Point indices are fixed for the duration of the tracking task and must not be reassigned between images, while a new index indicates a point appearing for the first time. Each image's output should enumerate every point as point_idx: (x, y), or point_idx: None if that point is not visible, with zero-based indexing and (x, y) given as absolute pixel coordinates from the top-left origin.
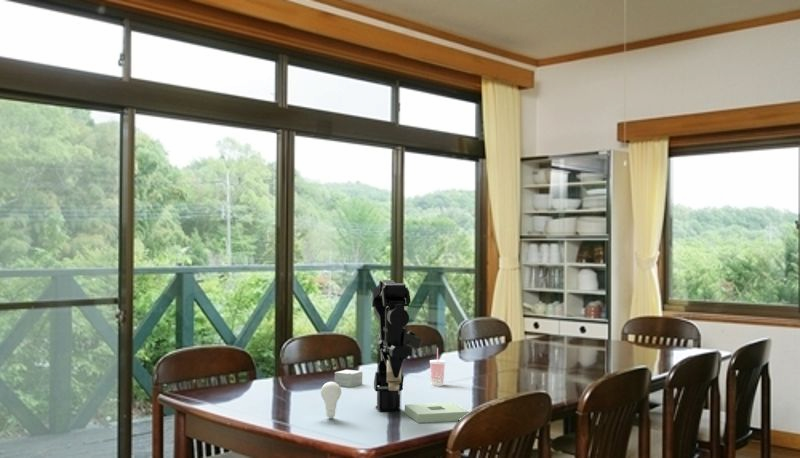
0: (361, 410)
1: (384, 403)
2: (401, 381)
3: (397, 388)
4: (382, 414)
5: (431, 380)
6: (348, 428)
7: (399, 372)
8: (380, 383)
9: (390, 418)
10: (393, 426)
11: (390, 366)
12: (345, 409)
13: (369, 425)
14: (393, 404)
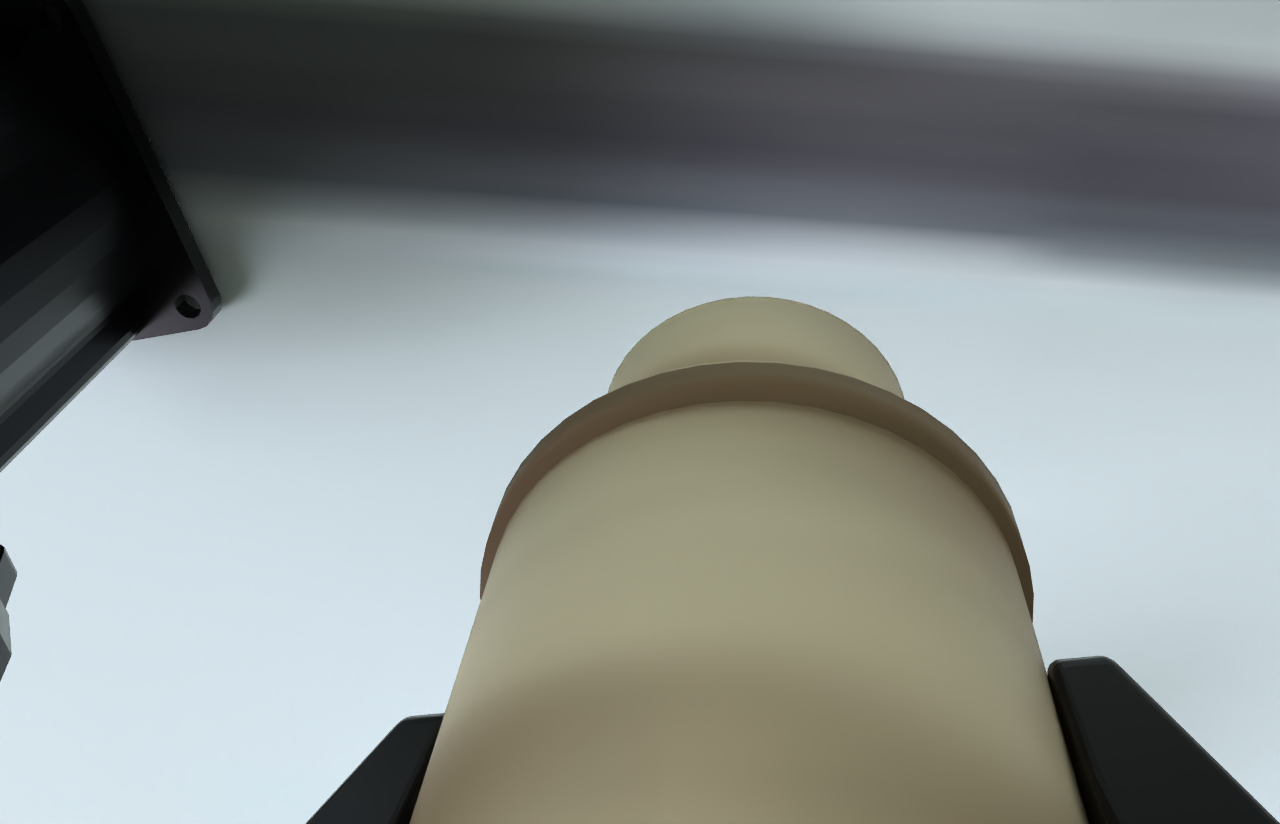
0: (175, 532)
1: (95, 303)
2: (794, 366)
3: (882, 382)
4: (387, 289)
5: None
6: (1193, 724)
7: (1036, 749)
8: (9, 640)
9: (670, 190)
10: (1268, 188)
11: None
12: (163, 684)
13: (1095, 507)
14: (35, 133)
